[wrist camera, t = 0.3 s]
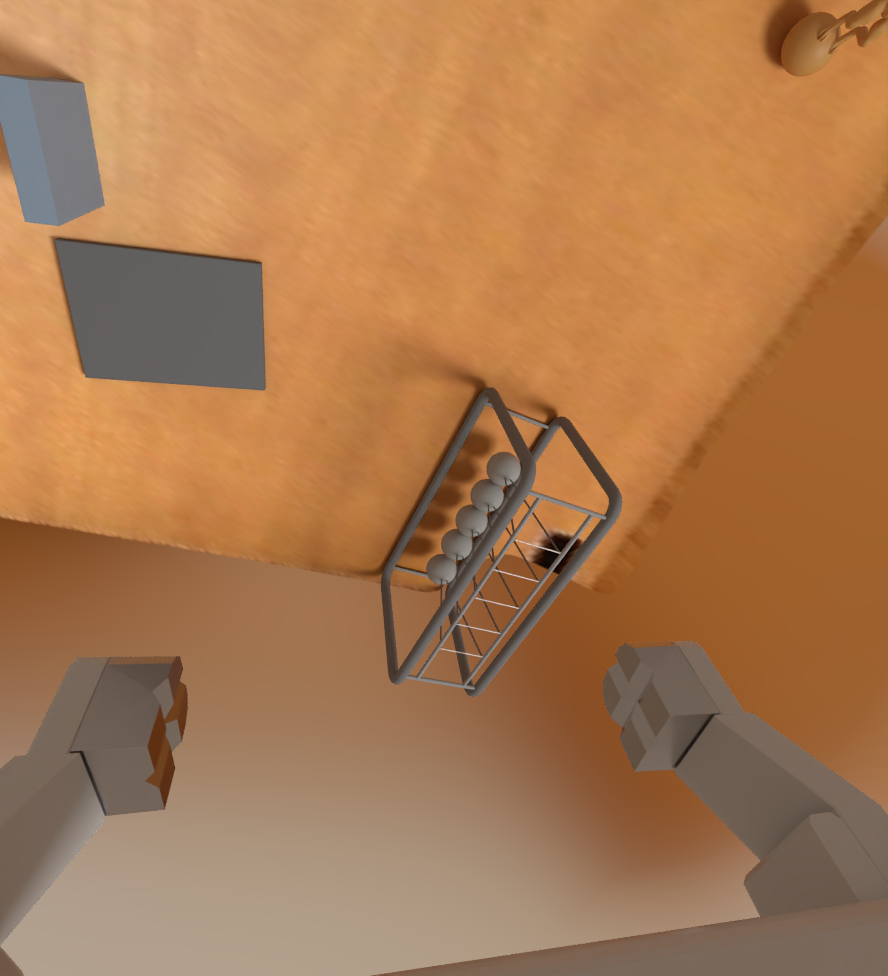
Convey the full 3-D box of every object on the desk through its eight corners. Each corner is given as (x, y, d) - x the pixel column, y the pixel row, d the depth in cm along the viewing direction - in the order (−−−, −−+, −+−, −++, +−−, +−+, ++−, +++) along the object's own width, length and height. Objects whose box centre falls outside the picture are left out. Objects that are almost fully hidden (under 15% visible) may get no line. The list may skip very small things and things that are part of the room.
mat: (57, 238, 45) (54, 240, 44) (261, 262, 48) (260, 264, 48) (87, 374, 52) (85, 377, 51) (265, 387, 55) (264, 390, 55)
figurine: (744, 37, 44) (858, 19, 35) (805, -48, 42) (946, -93, 32) (801, 105, 48) (919, 106, 38) (860, 30, 45) (1002, 12, 36)
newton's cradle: (448, 591, 76) (473, 706, 62) (378, 575, 72) (388, 692, 58) (565, 411, 62) (632, 504, 48) (485, 378, 58) (533, 469, 44)
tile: (76, 201, 44) (23, 221, 37) (51, 77, 39) (-14, 72, 32) (104, 205, 44) (58, 226, 37) (83, 83, 40) (26, 79, 33)
